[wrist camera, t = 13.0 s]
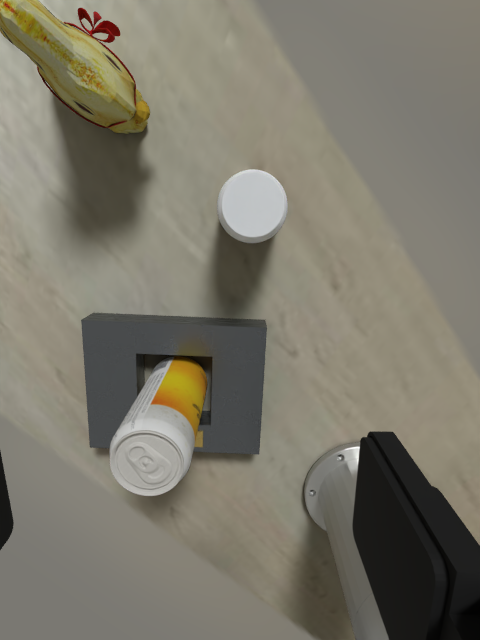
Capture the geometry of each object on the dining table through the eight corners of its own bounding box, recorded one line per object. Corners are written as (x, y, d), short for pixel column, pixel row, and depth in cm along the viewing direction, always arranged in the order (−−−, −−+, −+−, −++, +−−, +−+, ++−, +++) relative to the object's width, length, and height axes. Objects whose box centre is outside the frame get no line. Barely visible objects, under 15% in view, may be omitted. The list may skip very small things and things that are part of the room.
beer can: (178, 414, 43) (144, 515, 28) (141, 376, 42) (86, 459, 27) (219, 383, 42) (206, 470, 27) (182, 342, 41) (148, 410, 26)
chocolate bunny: (141, 161, 36) (72, 122, 22) (41, 80, 34) (-106, -22, 20) (184, 98, 35) (140, 11, 20) (82, 10, 33) (-44, -154, 19)
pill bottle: (287, 229, 38) (302, 232, 28) (232, 247, 38) (228, 256, 28) (270, 170, 36) (279, 152, 27) (213, 190, 37) (202, 179, 27)
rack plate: (265, 320, 40) (266, 328, 37) (258, 438, 43) (259, 455, 40) (93, 312, 40) (80, 320, 37) (100, 432, 43) (89, 448, 40)
